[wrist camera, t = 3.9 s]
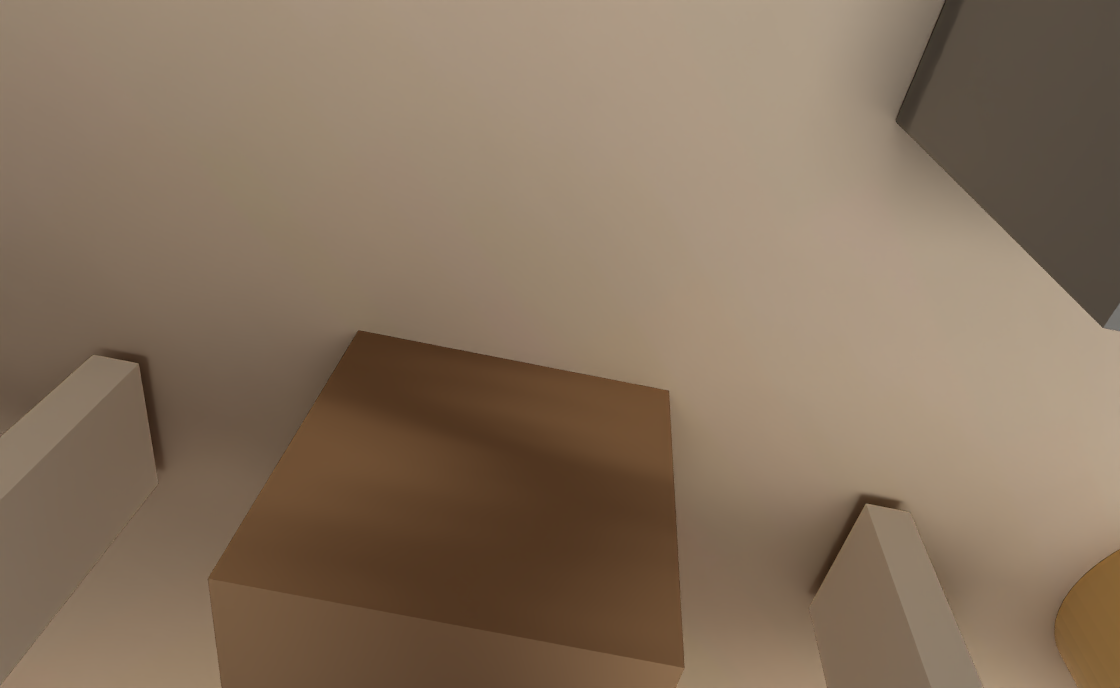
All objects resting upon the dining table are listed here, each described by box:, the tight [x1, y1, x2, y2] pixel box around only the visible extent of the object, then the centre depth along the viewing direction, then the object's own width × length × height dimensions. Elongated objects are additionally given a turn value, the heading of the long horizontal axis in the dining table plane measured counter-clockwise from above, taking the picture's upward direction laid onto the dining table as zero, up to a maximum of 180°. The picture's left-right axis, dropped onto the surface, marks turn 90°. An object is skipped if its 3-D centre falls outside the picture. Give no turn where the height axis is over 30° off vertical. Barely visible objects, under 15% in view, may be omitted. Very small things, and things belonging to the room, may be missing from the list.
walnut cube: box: [208, 330, 684, 688], centre depth 11 cm, size 5×5×5 cm
